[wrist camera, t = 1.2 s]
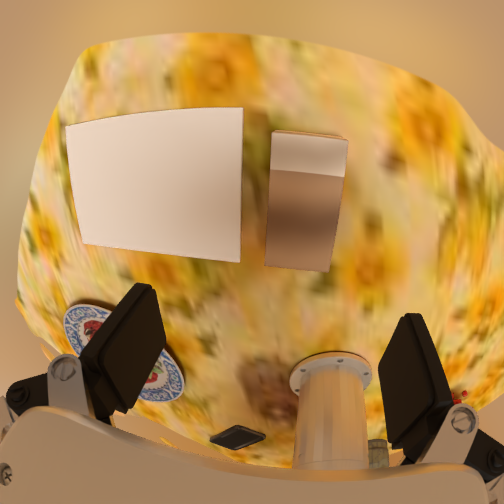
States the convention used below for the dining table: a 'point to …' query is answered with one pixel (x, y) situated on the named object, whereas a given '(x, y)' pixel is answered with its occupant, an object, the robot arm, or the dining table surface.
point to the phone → (237, 437)
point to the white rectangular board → (161, 181)
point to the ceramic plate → (163, 373)
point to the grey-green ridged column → (378, 453)
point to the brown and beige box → (304, 199)
